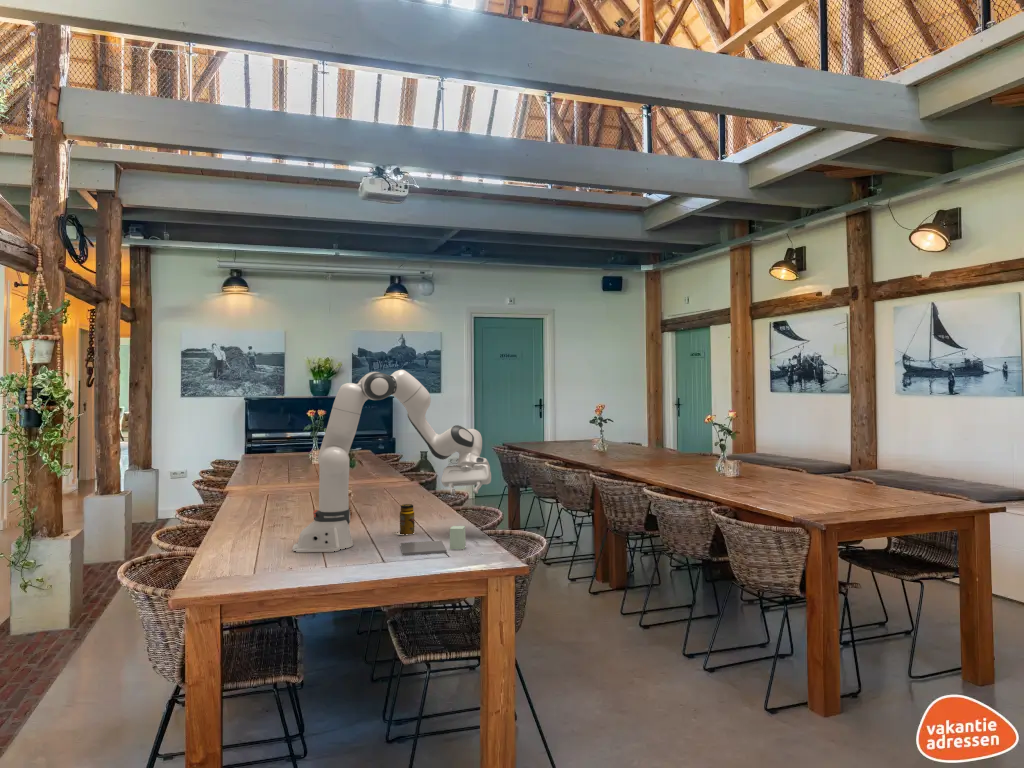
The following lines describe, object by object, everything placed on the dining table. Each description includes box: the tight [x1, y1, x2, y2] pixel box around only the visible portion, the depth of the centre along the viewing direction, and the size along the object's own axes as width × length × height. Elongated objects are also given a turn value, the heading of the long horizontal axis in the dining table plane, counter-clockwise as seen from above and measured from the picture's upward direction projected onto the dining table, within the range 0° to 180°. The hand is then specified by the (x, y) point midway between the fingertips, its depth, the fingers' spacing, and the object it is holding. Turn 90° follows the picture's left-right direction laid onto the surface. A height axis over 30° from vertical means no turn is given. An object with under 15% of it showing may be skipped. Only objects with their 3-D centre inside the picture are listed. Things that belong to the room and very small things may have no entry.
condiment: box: [393, 503, 416, 536], centre depth 288 cm, size 7×8×12 cm
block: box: [449, 525, 467, 550], centre depth 261 cm, size 5×5×8 cm
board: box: [400, 540, 448, 556], centre depth 260 cm, size 16×16×1 cm
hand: (463, 493), depth 273 cm, fingers open, 8 cm apart
